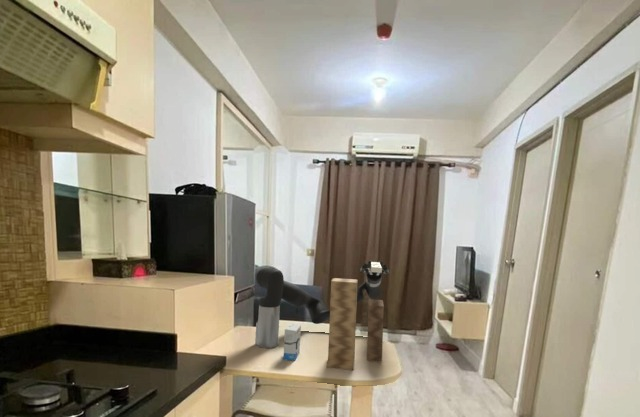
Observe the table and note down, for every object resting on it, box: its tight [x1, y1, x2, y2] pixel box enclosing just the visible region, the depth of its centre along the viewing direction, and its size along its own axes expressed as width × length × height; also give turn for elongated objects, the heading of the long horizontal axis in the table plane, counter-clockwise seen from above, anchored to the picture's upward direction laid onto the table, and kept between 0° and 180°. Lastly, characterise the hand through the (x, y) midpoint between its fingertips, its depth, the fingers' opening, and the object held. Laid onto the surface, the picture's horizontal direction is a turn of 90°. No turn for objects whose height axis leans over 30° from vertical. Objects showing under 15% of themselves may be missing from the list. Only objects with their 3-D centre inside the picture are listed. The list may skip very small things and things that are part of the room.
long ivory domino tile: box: [371, 261, 383, 273], centre depth 147 cm, size 4×22×2 cm, turn 172°
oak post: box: [326, 277, 358, 371], centre depth 134 cm, size 10×11×32 cm
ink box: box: [283, 323, 302, 361], centre depth 138 cm, size 8×5×12 cm, turn 168°
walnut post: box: [366, 298, 385, 362], centre depth 143 cm, size 6×12×22 cm, turn 172°
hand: (375, 262), depth 152 cm, fingers closed on long ivory domino tile, 4 cm apart
